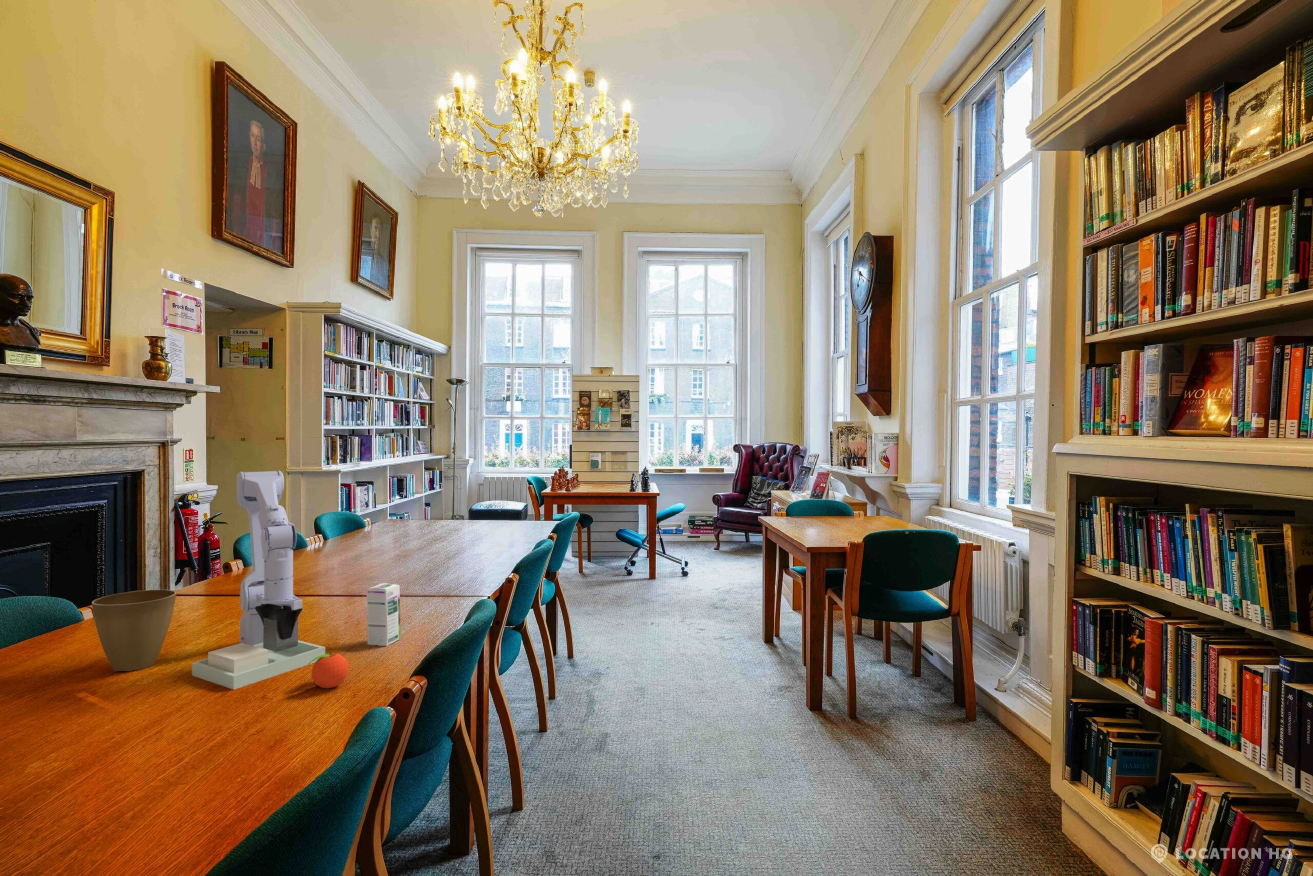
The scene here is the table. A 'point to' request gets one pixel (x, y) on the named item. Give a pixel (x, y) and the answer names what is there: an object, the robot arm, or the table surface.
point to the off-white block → (238, 658)
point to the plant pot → (133, 626)
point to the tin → (277, 635)
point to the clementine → (329, 670)
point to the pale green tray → (276, 665)
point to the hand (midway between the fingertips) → (278, 636)
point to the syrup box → (383, 614)
